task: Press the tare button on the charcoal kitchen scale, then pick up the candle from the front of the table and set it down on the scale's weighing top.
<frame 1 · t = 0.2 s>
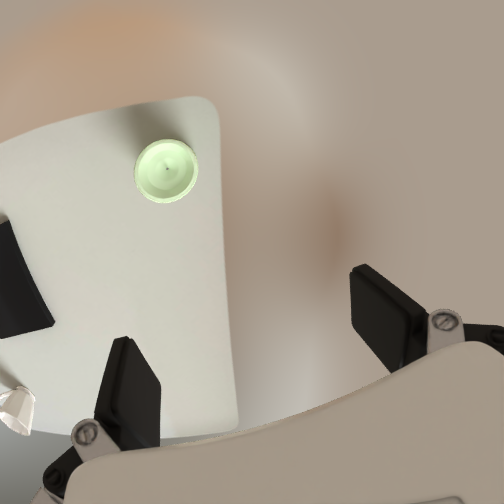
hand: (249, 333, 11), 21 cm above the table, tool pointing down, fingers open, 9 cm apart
candle: (173, 165, 27), on the table
scale: (2, 284, 26), on the table
cup: (20, 391, 33), on the table
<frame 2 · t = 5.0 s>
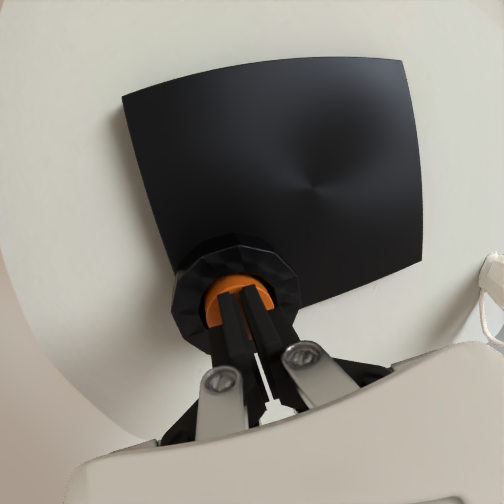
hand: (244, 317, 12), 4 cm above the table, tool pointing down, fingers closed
tare button: (237, 305, 13), point 3 cm above the table, slide at -0.7 cm, touching gripper
scale: (303, 184, 14), on the table
cup: (483, 282, 22), on the table
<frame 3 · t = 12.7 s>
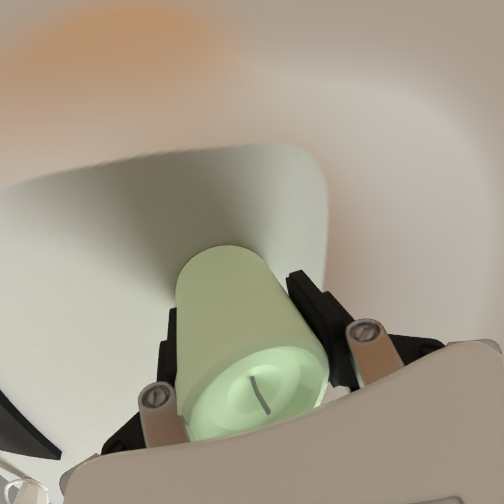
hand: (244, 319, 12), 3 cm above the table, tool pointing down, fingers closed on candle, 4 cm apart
candle: (224, 289, 14), on the table, touching gripper
cup: (30, 480, 20), on the table
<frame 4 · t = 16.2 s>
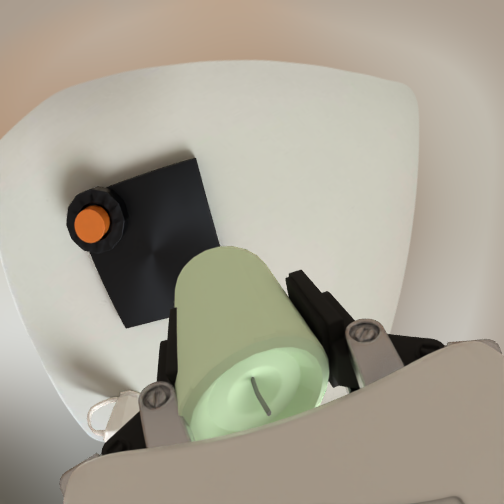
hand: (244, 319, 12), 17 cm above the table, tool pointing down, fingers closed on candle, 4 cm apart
tare button: (92, 223, 22), point 3 cm above the table, slide at 0.1 cm
candle: (223, 290, 14), point 14 cm above the table, touching gripper
scale: (154, 248, 27), on the table
cup: (123, 397, 34), on the table
when the fingers open (4 cm above the table, at t = 20.0 s): candle stays where it is, resting on scale.
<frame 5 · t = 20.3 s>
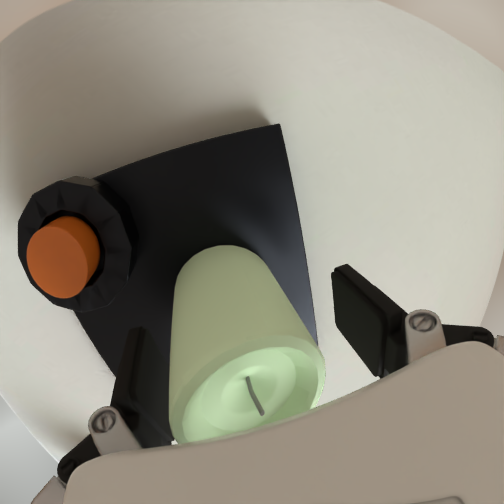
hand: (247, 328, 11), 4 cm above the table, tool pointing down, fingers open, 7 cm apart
tare button: (63, 256, 10), point 3 cm above the table, slide at 0.1 cm
candle: (223, 289, 14), point 1 cm above the table, touching scale
scale: (188, 293, 15), on the table
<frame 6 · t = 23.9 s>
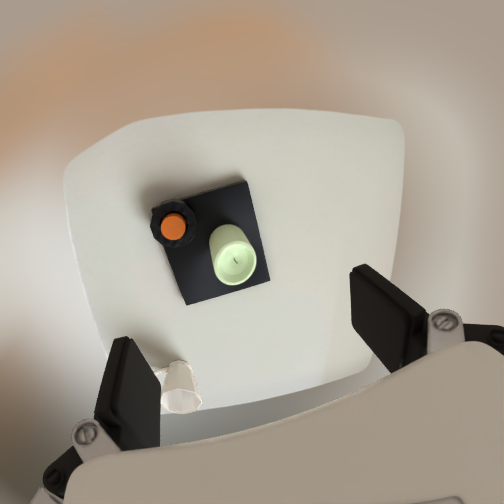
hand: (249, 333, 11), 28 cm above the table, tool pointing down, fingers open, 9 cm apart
tare button: (173, 226, 33), point 3 cm above the table, slide at 0.1 cm
candle: (227, 241, 38), point 1 cm above the table, touching scale
scale: (213, 244, 39), on the table
cup: (171, 368, 46), on the table
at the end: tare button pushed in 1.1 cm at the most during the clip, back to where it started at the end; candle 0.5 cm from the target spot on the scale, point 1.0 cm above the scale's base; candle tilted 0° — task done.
